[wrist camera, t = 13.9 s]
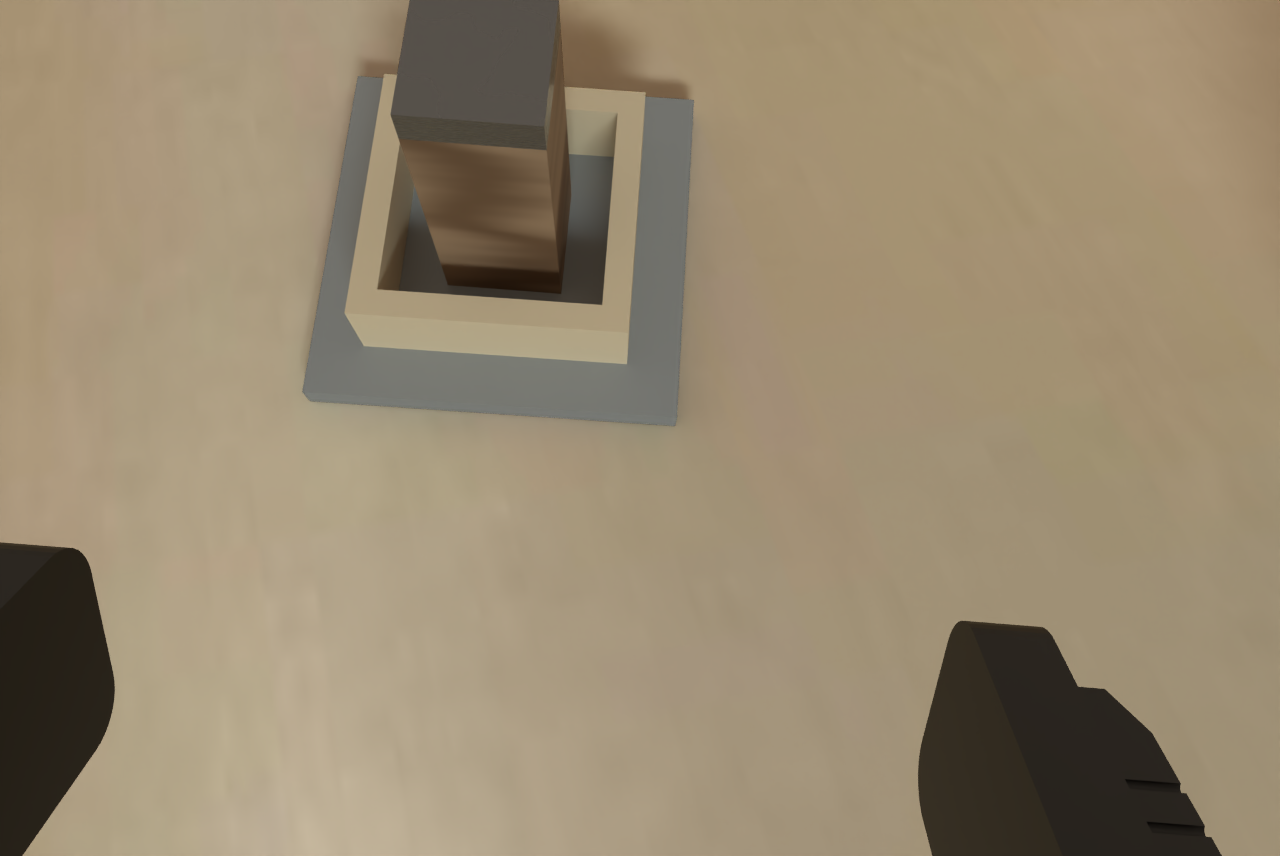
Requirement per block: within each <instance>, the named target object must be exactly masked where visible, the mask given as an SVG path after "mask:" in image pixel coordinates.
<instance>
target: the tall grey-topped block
mask: <svg viewBox="0 0 1280 856" xmlns="http://www.w3.org/2000/svg"><path fill="white" fill-rule="evenodd" d="M390 115H391V118H392V121H393V124H394V127H395V130H396V133H397V136H398V139H399V142H400V145H401V148H402V151H403V154H404V156H405V159H406V162H407V165H408V168H409V171H410V174H411V177H412V180H413V183H414V186H415V189H416V192H417V195H418V198H419V201H420V204H421V207H422V210H423V213H424V216H425V219H426V222H427V224H428V227H429V230H430V233H431V236H432V239H433V242H434V245H435V248H436V251H437V254H438V257H439V260H440V263H441V266H442V269H443V272H444V275H445V278H446V281H447V284H448V285H452V286H465V287H478V288H491V289H504V290H517V291H530V292H543V293H556V294H561V291H562V281H563V272H564V262H565V252H566V243H567V233H568V223H569V214H570V204H571V180H570V164H569V149H568V134H567V118H566V103H565V88H564V73H563V57H562V42H561V27H560V11H559V0H410V2H409V8H408V14H407V20H406V26H405V32H404V37H403V43H402V49H401V55H400V61H399V67H398V73H397V78H396V84H395V90H394V96H393V102H392V108H391V114H390Z"/></svg>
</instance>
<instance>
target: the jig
mask: <svg viewBox="0 0 1280 856" xmlns="http://www.w3.org/2000/svg"><path fill="white" fill-rule="evenodd" d="M396 78H397V75H393V74H384V78H377V77H363V76H358V78H357V84H356V90H355V96H354V101H353V107H352V113H351V118H350V124H349V130H348V135H347V141H346V147H345V153H344V158H343V164H342V170H341V175H340V181H339V187H338V192H337V198H336V204H335V209H334V215H333V221H332V227H331V232H330V238H329V244H328V249H327V255H326V261H325V266H324V272H323V278H322V284H321V289H320V295H319V301H318V306H317V312H316V318H315V323H314V329H313V335H312V340H311V346H310V352H309V358H308V363H307V369H306V375H305V380H304V386H303V393H304V395H305V396H306V397H307V398H308V399H309V401H317V402H332V403H346V404H361V405H376V406H391V407H405V408H420V409H435V410H449V411H464V412H479V413H493V414H508V415H523V416H537V417H552V418H567V419H582V420H596V421H611V422H626V423H640V424H655V425H670V426H675V424H676V419H677V406H678V387H679V369H680V350H681V331H682V312H683V294H684V275H685V256H686V238H687V219H688V200H689V181H690V163H691V144H692V125H693V107H694V100H687V99H673V98H659V97H645V94H646V92H633V91H619V90H605V89H590V88H576V87H564V88H565V103H566V118H567V134H568V149H569V164H570V180H571V204H570V214H569V223H568V233H567V243H566V252H565V262H564V272H563V281H562V291H561V294H556V293H543V292H530V291H517V290H504V289H491V288H478V287H465V286H452V285H448V284H447V281H446V278H445V275H444V272H443V269H442V266H441V263H440V260H439V257H438V254H437V251H436V248H435V245H434V242H433V239H432V236H431V233H430V230H429V227H428V224H427V222H426V219H425V216H424V213H423V210H422V207H421V204H420V201H419V198H418V195H417V192H416V189H415V186H414V183H413V180H412V177H411V174H410V171H409V168H408V165H407V162H406V159H405V156H404V154H403V151H402V148H401V145H400V142H399V139H398V136H397V133H396V130H395V127H394V124H393V121H392V118H391V115H390V114H391V108H392V102H393V96H394V90H395V84H396Z"/></svg>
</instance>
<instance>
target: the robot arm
mask: <svg viewBox="0 0 1280 856" xmlns="http://www.w3.org/2000/svg"><path fill="white" fill-rule="evenodd" d="M114 692H115V686H114V676H113V671H112V666H111V661H110V657H109V652H108V648H107V643H106V638H105V634H104V629H103V624H102V620H101V615H100V610H99V606H98V601H97V596H96V592H95V587H94V582H93V578H92V573H91V569H90V566H89V563H88V561H87V559H86V558H85V556H84V555H83V554H82V553H81V552H80V551H79V550H76V549H74V548H64V547H51V546H39V545H26V544H13V543H1V542H0V856H22V855H23V854H24V852H25V851H26V850H27V848H28V847H29V845H30V844H31V842H32V841H33V840H34V838H35V837H36V835H37V834H38V832H39V831H40V830H41V828H42V827H43V825H44V824H45V822H46V821H47V820H48V818H49V817H50V815H51V814H52V812H53V811H54V810H55V808H56V807H57V805H58V804H59V802H60V801H61V799H62V798H63V797H64V795H65V794H66V792H67V791H68V789H69V788H70V787H71V785H72V784H73V782H74V781H75V779H76V778H77V777H78V775H79V774H80V772H81V771H82V769H83V768H84V767H85V765H86V764H87V762H88V761H89V759H90V758H91V757H92V755H93V754H94V752H95V751H96V749H97V748H98V746H99V744H100V743H101V741H102V739H103V737H104V735H105V732H106V730H107V727H108V724H109V721H110V718H111V713H112V709H113V703H114ZM1180 784H1181V783H1180V782H1179V780H1178V778H1177V776H1176V774H1175V773H1174V771H1173V769H1172V767H1171V766H1170V764H1169V762H1168V760H1167V759H1166V757H1165V755H1164V753H1163V752H1162V750H1161V748H1160V746H1159V745H1158V743H1157V741H1156V739H1155V738H1154V736H1153V734H1152V733H1151V732H1150V731H1149V730H1148V729H1147V728H1146V727H1145V726H1144V725H1143V724H1142V723H1141V722H1139V721H1138V720H1137V719H1136V718H1135V717H1134V716H1133V715H1132V714H1131V713H1130V712H1129V711H1128V710H1127V709H1126V708H1124V707H1123V706H1122V705H1121V704H1120V703H1119V702H1118V701H1117V700H1116V699H1115V698H1114V697H1113V696H1112V695H1110V694H1109V693H1108V692H1107V691H1106V690H1105V689H1098V688H1085V687H1078V686H1077V684H1076V682H1075V680H1074V678H1073V676H1072V674H1071V672H1070V670H1069V668H1068V666H1067V664H1066V662H1065V660H1064V658H1063V656H1062V654H1061V652H1060V650H1059V648H1058V646H1057V644H1056V642H1055V640H1054V639H1053V637H1052V635H1051V634H1050V633H1049V632H1048V631H1047V630H1046V629H1045V628H1043V627H1034V626H1021V625H1009V624H996V623H983V622H971V621H960V622H958V623H957V624H956V625H955V626H954V628H953V629H952V632H951V634H950V637H949V640H948V644H947V647H946V651H945V655H944V659H943V663H942V667H941V670H940V674H939V678H938V682H937V686H936V690H935V694H934V697H933V701H932V705H931V709H930V713H929V717H928V720H927V724H926V728H925V732H924V736H923V740H922V744H921V749H920V756H919V768H918V787H919V800H920V807H921V813H922V817H923V821H924V825H925V829H926V833H927V837H928V840H929V844H930V848H931V852H932V856H1222V855H1221V854H1220V852H1219V850H1218V848H1217V847H1216V845H1215V843H1214V841H1213V840H1212V838H1211V837H1206V836H1205V833H1204V827H1205V826H1204V824H1203V822H1202V820H1201V818H1200V817H1199V815H1198V813H1197V811H1196V810H1195V808H1194V806H1193V804H1192V803H1191V801H1190V799H1189V797H1188V796H1187V794H1185V793H1181V791H1180Z"/></svg>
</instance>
